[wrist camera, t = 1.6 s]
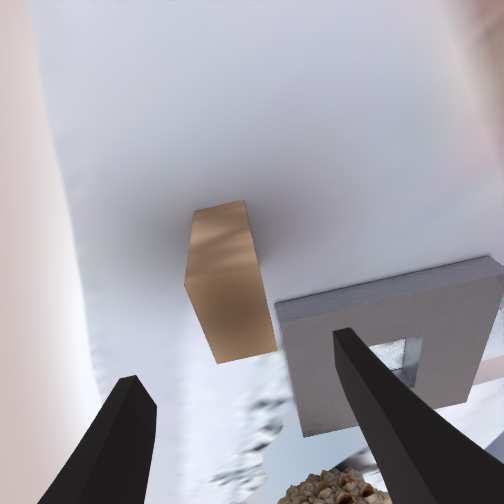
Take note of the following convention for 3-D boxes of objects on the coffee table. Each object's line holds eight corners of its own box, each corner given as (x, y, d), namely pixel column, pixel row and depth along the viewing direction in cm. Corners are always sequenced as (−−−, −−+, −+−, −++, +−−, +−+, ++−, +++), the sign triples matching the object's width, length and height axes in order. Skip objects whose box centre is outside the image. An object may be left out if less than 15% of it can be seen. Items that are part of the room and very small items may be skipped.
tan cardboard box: (243, 199, 18) (258, 268, 12) (259, 267, 20) (278, 350, 14) (194, 211, 18) (184, 284, 12) (216, 277, 20) (217, 364, 14)
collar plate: (488, 255, 22) (511, 271, 20) (452, 383, 30) (466, 402, 29) (274, 303, 22) (279, 323, 20) (298, 417, 31) (303, 437, 29)
